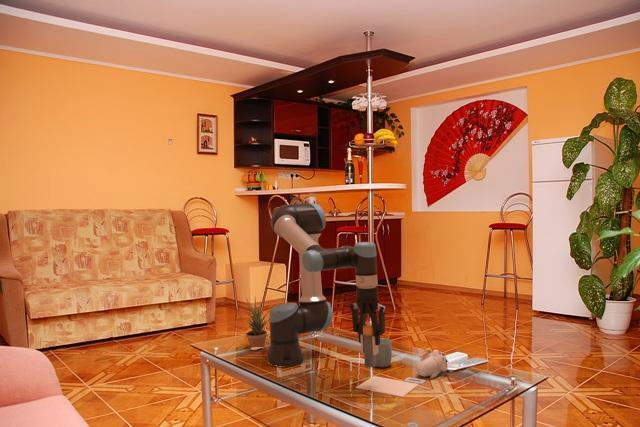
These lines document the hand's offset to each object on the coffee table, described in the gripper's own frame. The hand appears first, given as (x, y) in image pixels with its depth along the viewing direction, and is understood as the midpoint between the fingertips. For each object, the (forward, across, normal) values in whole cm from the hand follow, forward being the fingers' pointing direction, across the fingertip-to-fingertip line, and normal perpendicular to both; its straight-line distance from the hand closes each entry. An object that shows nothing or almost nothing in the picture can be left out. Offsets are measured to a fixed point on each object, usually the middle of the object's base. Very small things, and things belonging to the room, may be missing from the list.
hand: (369, 353), depth 186 cm
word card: (+12, +11, +13) cm, 21 cm away
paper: (+12, +5, +3) cm, 13 cm away
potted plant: (+12, -68, +18) cm, 72 cm away
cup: (+12, -7, +22) cm, 26 cm away
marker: (+4, 0, 0) cm, 4 cm away
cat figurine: (+12, +14, +22) cm, 29 cm away
